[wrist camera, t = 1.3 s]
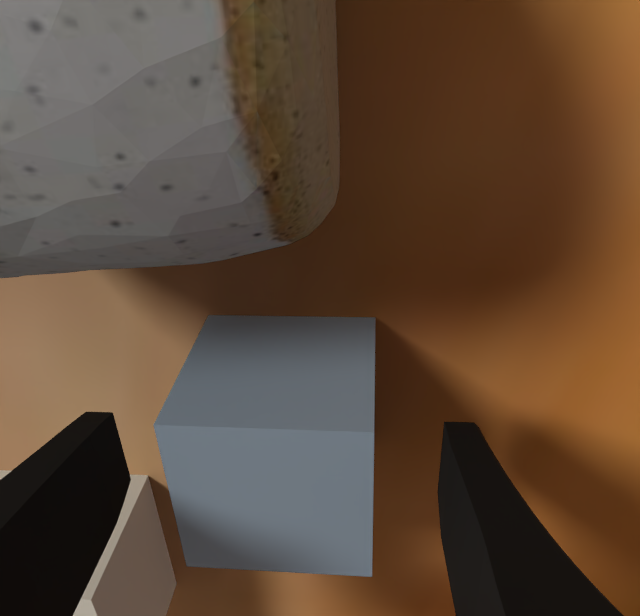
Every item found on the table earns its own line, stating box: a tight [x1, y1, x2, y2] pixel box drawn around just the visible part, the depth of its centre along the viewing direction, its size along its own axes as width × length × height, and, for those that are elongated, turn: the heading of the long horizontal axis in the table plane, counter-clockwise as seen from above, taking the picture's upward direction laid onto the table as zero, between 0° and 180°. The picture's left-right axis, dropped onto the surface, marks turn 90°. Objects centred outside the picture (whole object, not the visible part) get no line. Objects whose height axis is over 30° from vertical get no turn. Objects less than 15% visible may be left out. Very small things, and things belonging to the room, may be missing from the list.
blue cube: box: [154, 315, 375, 577], centre depth 13 cm, size 4×4×4 cm
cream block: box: [0, 470, 177, 616], centre depth 17 cm, size 5×5×4 cm
